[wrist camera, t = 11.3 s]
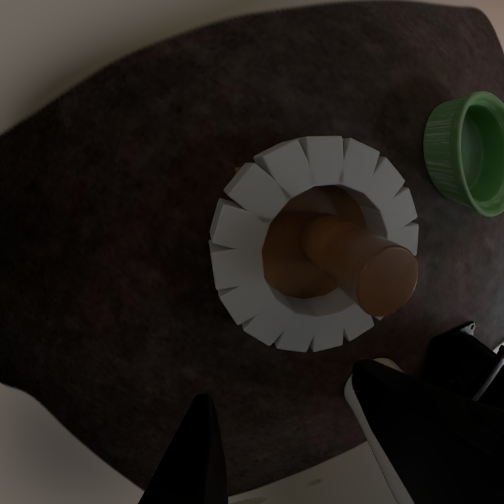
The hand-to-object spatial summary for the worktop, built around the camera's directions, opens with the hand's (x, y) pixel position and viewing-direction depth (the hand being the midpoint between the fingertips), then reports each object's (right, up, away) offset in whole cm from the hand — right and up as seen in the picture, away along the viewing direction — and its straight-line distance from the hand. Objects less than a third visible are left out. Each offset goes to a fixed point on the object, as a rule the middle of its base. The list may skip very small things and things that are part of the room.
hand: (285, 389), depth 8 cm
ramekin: (+15, +12, +12) cm, 22 cm away
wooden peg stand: (+3, +5, +11) cm, 13 cm away
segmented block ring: (+3, +4, +10) cm, 11 cm away
